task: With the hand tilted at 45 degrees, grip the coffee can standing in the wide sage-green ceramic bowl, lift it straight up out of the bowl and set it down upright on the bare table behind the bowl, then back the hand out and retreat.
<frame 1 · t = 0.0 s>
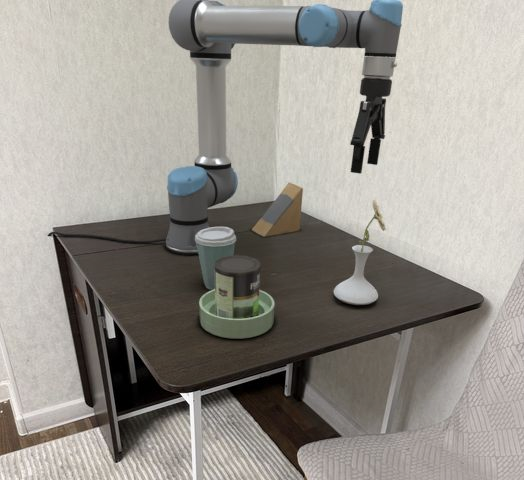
hand: (364, 168, 129), 28 cm above the table, tool pointing down, fingers open, 13 cm apart
bowl: (236, 320, 113), on the table
flower in vase: (355, 299, 125), on the table
sandwich container: (275, 230, 170), on the table
disposable coffee cup: (216, 286, 129), on the table
coffee can: (236, 320, 113), resting on bowl
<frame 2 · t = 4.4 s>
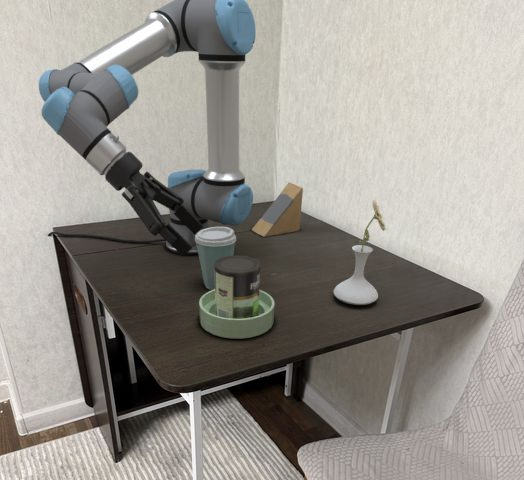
hand: (193, 240, 103), 19 cm above the table, tool tilted 45°, fingers open, 13 cm apart
nothing on the table moved.
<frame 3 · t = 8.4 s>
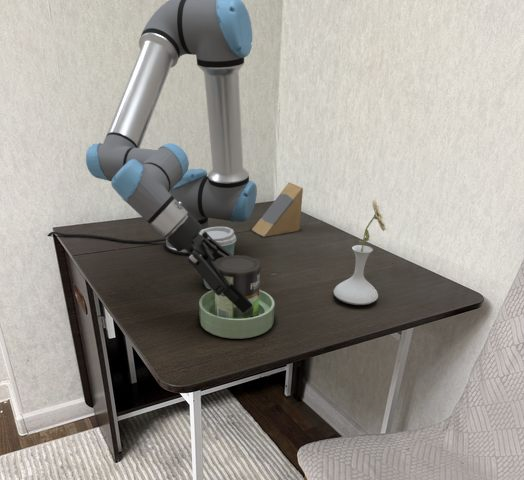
hand: (250, 297, 109), 6 cm above the table, tool tilted 45°, fingers closed on coffee can, 10 cm apart
coffee can: (236, 320, 113), resting on bowl, touching gripper
everything else where it was.
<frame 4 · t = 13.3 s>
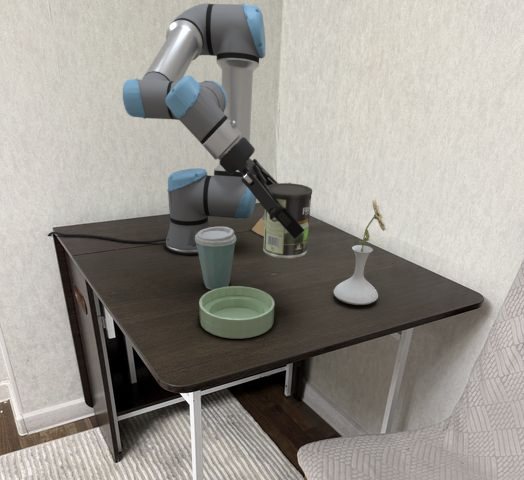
hand: (299, 226, 108), 21 cm above the table, tool tilted 45°, fingers closed on coffee can, 10 cm apart
coffee can: (284, 251, 111), point 15 cm above the table, touching gripper
everything else where it was.
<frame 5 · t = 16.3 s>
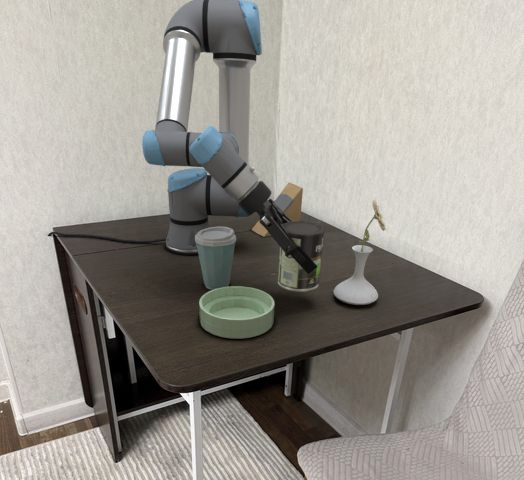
hand: (312, 261, 115), 11 cm above the table, tool tilted 45°, fingers closed on coffee can, 10 cm apart
coffee can: (298, 283, 119), point 5 cm above the table, touching gripper
everything else where it was.
when the fingers open (6 cm above the table, at t = 18.4 s): coffee can stays where it is, on the table.
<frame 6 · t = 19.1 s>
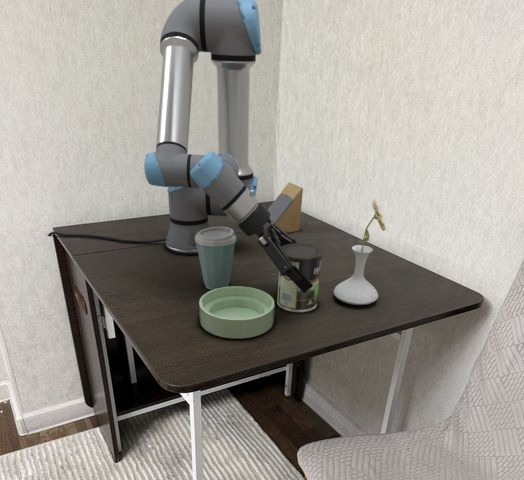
hand: (308, 277, 118), 7 cm above the table, tool tilted 45°, fingers open, 13 cm apart
coffee can: (296, 303, 122), on the table
everything else where it was.
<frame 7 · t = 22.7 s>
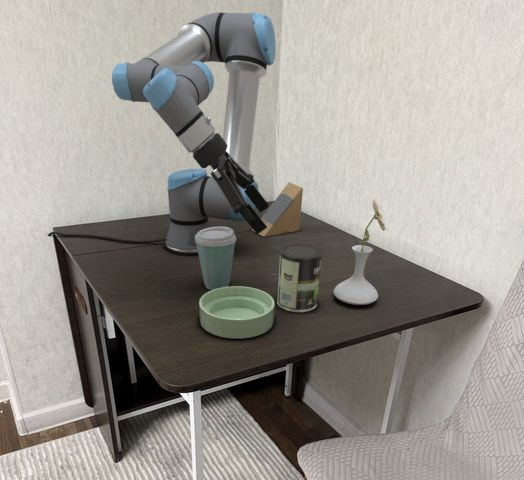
hand: (263, 219, 113), 20 cm above the table, tool tilted 40°, fingers open, 13 cm apart
nothing on the table moved.
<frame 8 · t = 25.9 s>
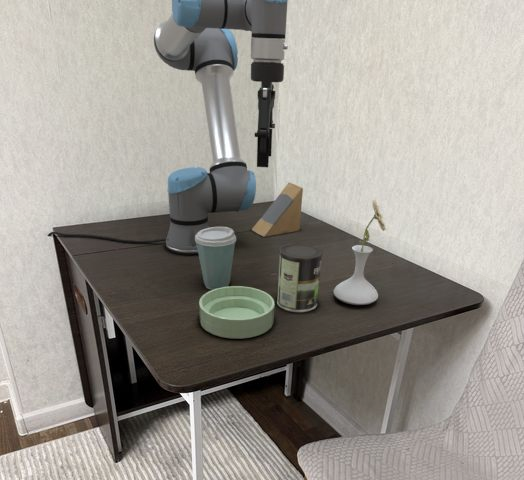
hand: (264, 161, 119), 31 cm above the table, tool pointing down, fingers open, 13 cm apart
nothing on the table moved.
at the end: coffee can inside the target area (0.1 cm from its centre), on the table; coffee can tilted 0°; the gripper is holding nothing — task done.
